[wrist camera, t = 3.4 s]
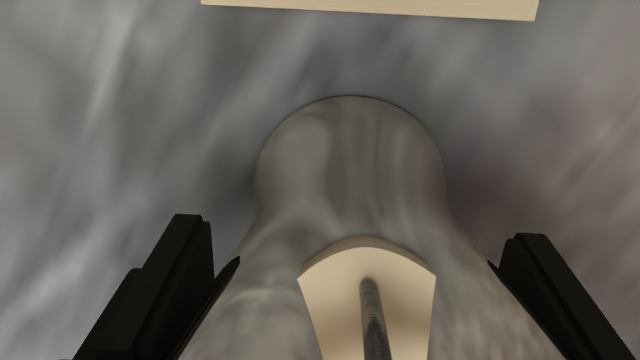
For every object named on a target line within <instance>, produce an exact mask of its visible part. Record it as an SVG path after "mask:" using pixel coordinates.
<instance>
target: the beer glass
mask: <svg viewBox="0 0 640 360" xmlns="http://www.w3.org/2000/svg"><path fill="white" fill-rule="evenodd" d="M253 197H254V216H253V220H252V223H251V225H250V227H249V229H248V231H247V232H246V234H245V236H244V237H243V239H242V240H241V242H240V244H239V245H238V247H237V248H236V250H235V251H234V252H233V254H232V255H231V257H230V258H229V260H228V261H227V262H226V264H225V265H224V267H223V268H222V270H221V271H220V272H219V274H218V275H217V277H216V278H215V280H214V281H213V282H212V284H211V285H210V287H209V288H208V290H207V291H206V293H205V294H204V296H203V297H202V299H201V300H200V302H199V303H198V305H197V306H196V308H195V309H194V311H193V312H192V314H191V315H190V317H189V318H188V320H187V321H186V322H185V324H184V325H183V327H182V328H181V330H180V331H179V333H178V334H177V336H176V338H175V339H174V341H173V343H172V344H171V346H170V348H169V349H168V351H167V353H166V354H165V356H164V358H163V359H162V360H572V359H571V358H570V356H569V355H568V354H567V352H566V351H565V350H564V348H563V347H562V346H561V345H560V343H559V342H558V341H557V339H556V338H555V337H554V335H553V334H552V333H551V331H550V330H549V329H548V327H547V326H546V325H545V324H544V322H543V321H542V320H541V319H540V318H539V316H538V315H537V314H536V313H535V312H534V311H533V309H532V308H531V307H530V306H529V305H528V304H527V302H526V301H525V300H524V299H523V298H522V296H521V295H520V294H519V293H518V292H517V291H516V289H515V288H514V287H513V286H512V285H511V284H510V282H509V281H508V280H507V279H506V278H505V276H504V275H503V274H502V273H501V272H500V271H499V269H498V268H497V267H496V266H495V265H494V264H493V263H492V261H491V260H490V259H489V258H488V257H487V256H486V255H485V253H484V252H483V251H482V250H481V249H480V248H479V247H478V246H477V244H476V243H475V242H474V241H473V240H472V239H471V238H470V236H469V235H468V234H467V233H466V231H465V230H464V229H463V228H462V226H461V225H460V224H459V223H458V221H457V220H456V219H455V217H454V216H453V214H452V212H451V210H450V209H449V206H448V203H447V184H446V173H445V167H444V163H443V159H442V156H441V153H440V151H439V148H438V146H437V144H436V142H435V141H434V139H433V137H432V136H431V134H430V133H429V132H428V131H427V129H426V128H425V127H424V126H423V125H422V124H421V123H420V122H419V121H418V120H417V119H415V118H414V117H413V116H412V115H410V114H409V113H407V112H406V111H404V110H402V109H400V108H399V107H397V106H395V105H392V104H390V103H387V102H385V101H382V100H378V99H374V98H369V97H362V96H340V97H333V98H328V99H324V100H320V101H317V102H314V103H312V104H309V105H307V106H305V107H303V108H301V109H299V110H298V111H296V112H295V113H293V114H292V115H290V116H289V117H287V118H286V119H285V120H284V121H283V122H282V123H281V124H279V125H278V126H277V128H276V129H275V130H274V131H273V132H272V133H271V135H270V136H269V137H268V139H267V140H266V142H265V144H264V146H263V148H262V150H261V152H260V154H259V157H258V160H257V163H256V167H255V172H254V181H253Z"/></svg>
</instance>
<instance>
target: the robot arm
mask: <svg viewBox="0 0 640 360" xmlns="http://www.w3.org/2000/svg"><path fill="white" fill-rule="evenodd" d="M498 269H499V271H500V272H501V273H502V274H503V275H504V276H505V278H506V279H507V280H508V281H509V282H510V284H511V285H512V286H513V287H514V288H515V289H516V291H517V292H518V293H519V294H520V295H521V296H522V298H523V299H524V300H525V301H526V302H527V304H528V305H529V306H530V307H531V308H532V309H533V311H534V312H535V313H536V314H537V315H538V316H539V318H540V319H541V320H542V321H543V322H544V324H545V325H546V326H547V327H548V329H549V330H550V331H551V333H552V334H553V335H554V337H555V338H556V339H557V341H558V342H559V343H560V345H561V346H562V347H563V348H564V350H565V351H566V352H567V354H568V355H569V356H570V358H571V359H572V360H636V359H635V357H634V356H633V355H632V353H631V352H630V351H629V349H628V348H627V346H626V345H625V344H624V342H623V341H622V340H621V338H620V337H619V335H618V334H617V333H616V331H615V330H614V328H613V327H612V326H611V324H610V323H609V322H608V320H607V319H606V317H605V316H604V315H603V313H602V312H601V311H600V309H599V308H598V306H597V305H596V304H595V302H594V301H593V300H592V298H591V297H590V295H589V294H588V293H587V291H586V290H585V289H584V287H583V286H582V284H581V283H580V282H579V280H578V279H577V278H576V276H575V275H574V273H573V272H572V271H571V269H570V268H569V267H568V265H567V264H566V262H565V261H564V260H563V258H562V257H561V256H560V254H559V253H558V251H557V250H556V249H555V247H554V246H553V245H552V243H551V242H550V240H549V239H548V238H547V237H546V236H545V235H544V234H533V233H517V234H516V235H515V236H514V238H513V239H510V238H509V239H508V240H507V241H506V243H505V246H504V250H503V254H502V257H501V261H500V265H499V268H498ZM214 280H215V278H214V264H213V251H212V237H211V226H210V222H205V221H203V219H202V216H201V215H191V214H175V215H174V216H173V218H172V220H171V221H170V223H169V225H168V226H167V228H166V229H165V231H164V233H163V234H162V236H161V238H160V239H159V241H158V243H157V244H156V246H155V248H154V249H153V251H152V252H151V254H150V256H149V257H148V259H147V261H146V262H145V264H144V266H143V267H142V269H141V268H134V269H132V270H130V271H129V273H128V274H127V275H126V277H125V278H124V280H123V281H122V283H121V284H120V286H119V288H118V289H117V291H116V292H115V294H114V295H113V297H112V298H111V300H110V302H109V303H108V305H107V306H106V308H105V309H104V311H103V312H102V314H101V316H100V317H99V319H98V320H97V322H96V323H95V325H94V326H93V328H92V330H91V331H90V333H89V334H88V336H87V337H86V339H85V340H84V342H83V344H82V345H81V347H80V348H79V350H78V351H77V353H76V354H75V356H74V358H73V359H72V360H162V359H163V358H164V356H165V354H166V353H167V351H168V349H169V348H170V346H171V344H172V343H173V341H174V339H175V338H176V336H177V334H178V333H179V331H180V330H181V328H182V327H183V325H184V324H185V322H186V321H187V320H188V318H189V317H190V315H191V314H192V312H193V311H194V309H195V308H196V306H197V305H198V303H199V302H200V300H201V299H202V297H203V296H204V294H205V293H206V291H207V290H208V288H209V287H210V285H211V284H212V282H213V281H214ZM60 360H70V359H60Z"/></svg>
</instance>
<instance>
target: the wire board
mask: <svg viewBox="0 0 640 360" xmlns="http://www.w3.org/2000/svg"><path fill="white" fill-rule="evenodd" d="M538 3H539V0H201V4H208V5H228V6H247V7H267V8H286V9H305V10H325V11H344V12H364V13H383V14H403V15H422V16H441V17H461V18H480V19H500V20H519V21H534V20H535V16H536V11H537V7H538Z"/></svg>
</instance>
